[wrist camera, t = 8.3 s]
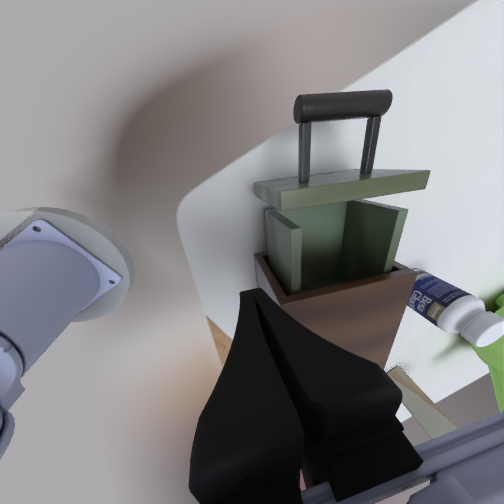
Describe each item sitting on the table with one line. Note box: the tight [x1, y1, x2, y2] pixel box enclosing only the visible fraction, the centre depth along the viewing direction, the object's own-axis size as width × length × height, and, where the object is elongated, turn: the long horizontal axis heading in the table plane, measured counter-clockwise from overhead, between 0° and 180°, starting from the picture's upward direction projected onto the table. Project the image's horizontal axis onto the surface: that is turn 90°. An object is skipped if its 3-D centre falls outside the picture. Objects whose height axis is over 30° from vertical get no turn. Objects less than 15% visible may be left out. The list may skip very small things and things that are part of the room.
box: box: [387, 366, 458, 439], centre depth 35 cm, size 5×4×11 cm
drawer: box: [254, 89, 431, 296], centre depth 16 cm, size 17×10×7 cm, turn 6°
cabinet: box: [254, 251, 418, 370], centre depth 20 cm, size 14×12×9 cm
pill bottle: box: [407, 269, 504, 347], centre depth 24 cm, size 5×5×10 cm
